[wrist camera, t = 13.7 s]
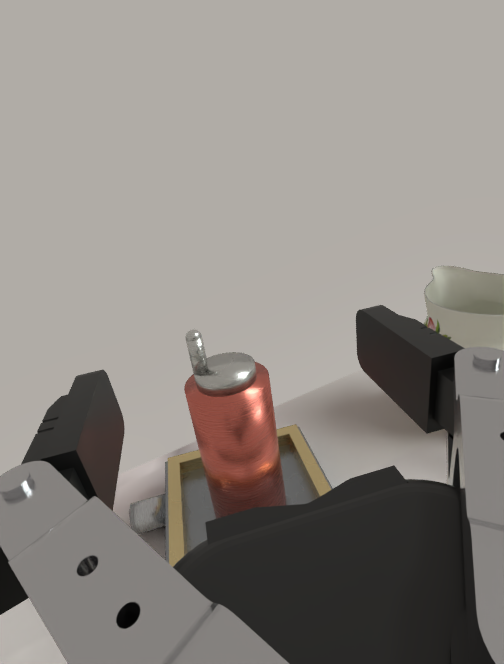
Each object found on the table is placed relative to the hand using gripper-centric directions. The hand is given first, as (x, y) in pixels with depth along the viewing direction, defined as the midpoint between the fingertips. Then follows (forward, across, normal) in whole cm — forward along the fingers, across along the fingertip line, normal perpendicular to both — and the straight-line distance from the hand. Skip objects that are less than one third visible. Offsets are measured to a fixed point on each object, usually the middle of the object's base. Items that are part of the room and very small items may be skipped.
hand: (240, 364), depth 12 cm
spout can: (+10, 0, +18) cm, 21 cm away
